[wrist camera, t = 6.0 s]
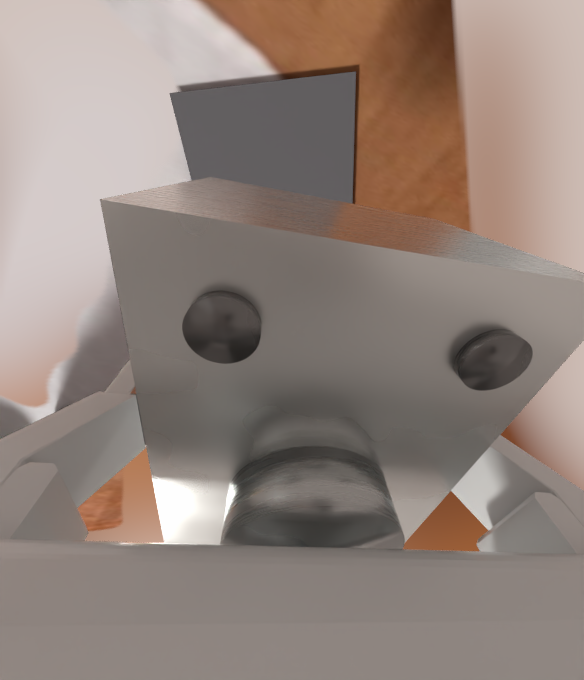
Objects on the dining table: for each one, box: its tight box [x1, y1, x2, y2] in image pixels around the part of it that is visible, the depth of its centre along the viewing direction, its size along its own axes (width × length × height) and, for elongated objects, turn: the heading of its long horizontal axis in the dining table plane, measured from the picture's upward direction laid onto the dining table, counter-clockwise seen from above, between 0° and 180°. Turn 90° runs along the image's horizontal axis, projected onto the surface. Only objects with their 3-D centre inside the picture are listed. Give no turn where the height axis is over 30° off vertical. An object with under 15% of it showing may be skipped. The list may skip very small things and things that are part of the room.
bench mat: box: [170, 72, 356, 204], centre depth 22 cm, size 16×12×1 cm
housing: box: [100, 177, 584, 549], centre depth 7 cm, size 10×6×6 cm, turn 170°
